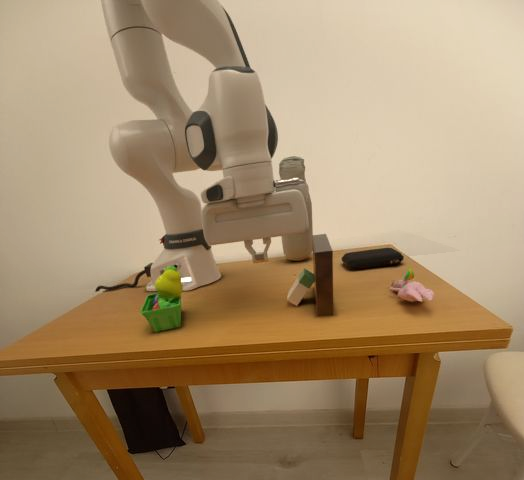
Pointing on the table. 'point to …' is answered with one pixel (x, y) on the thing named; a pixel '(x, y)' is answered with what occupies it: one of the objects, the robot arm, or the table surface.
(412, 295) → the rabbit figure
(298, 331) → the table surface
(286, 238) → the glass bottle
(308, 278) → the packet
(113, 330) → the table surface
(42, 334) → the table surface
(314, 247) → the walnut board
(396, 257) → the carrying case
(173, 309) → the fruit basket
